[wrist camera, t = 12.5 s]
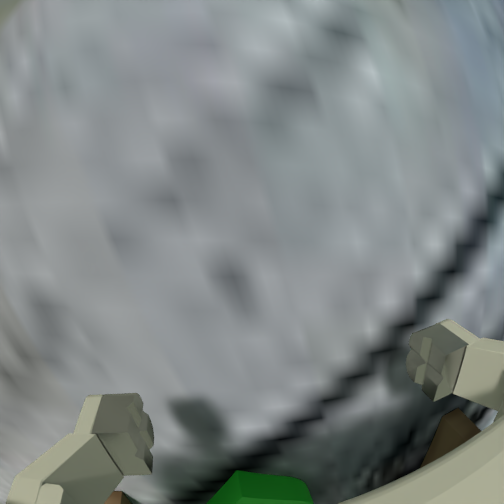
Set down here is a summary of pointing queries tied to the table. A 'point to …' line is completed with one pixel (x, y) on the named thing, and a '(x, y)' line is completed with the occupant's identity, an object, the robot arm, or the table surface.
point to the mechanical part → (262, 490)
